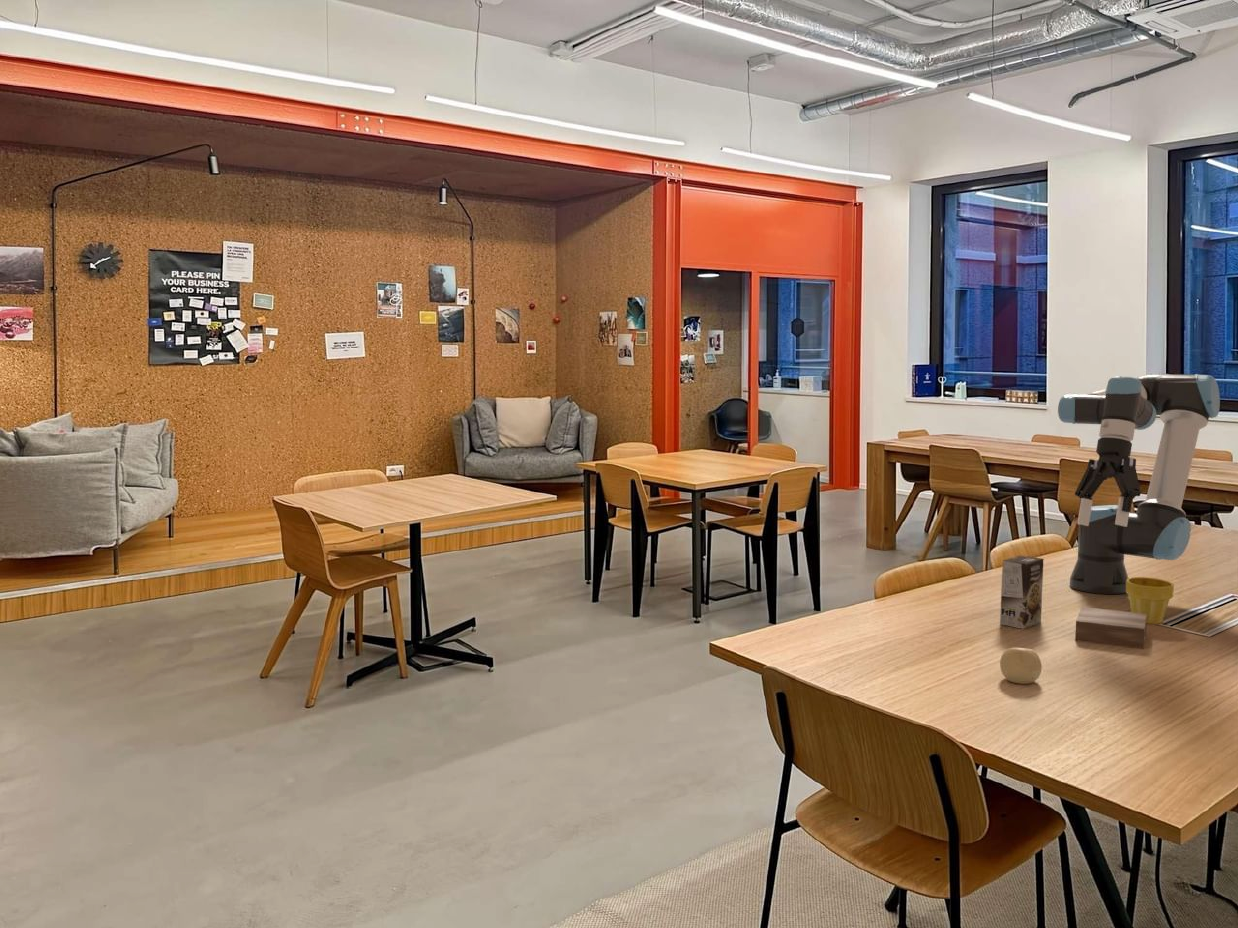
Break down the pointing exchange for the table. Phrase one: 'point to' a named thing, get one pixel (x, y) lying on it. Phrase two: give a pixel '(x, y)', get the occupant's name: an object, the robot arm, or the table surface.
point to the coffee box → (1021, 591)
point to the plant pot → (1149, 597)
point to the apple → (1020, 665)
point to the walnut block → (1111, 627)
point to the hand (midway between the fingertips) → (1101, 525)
